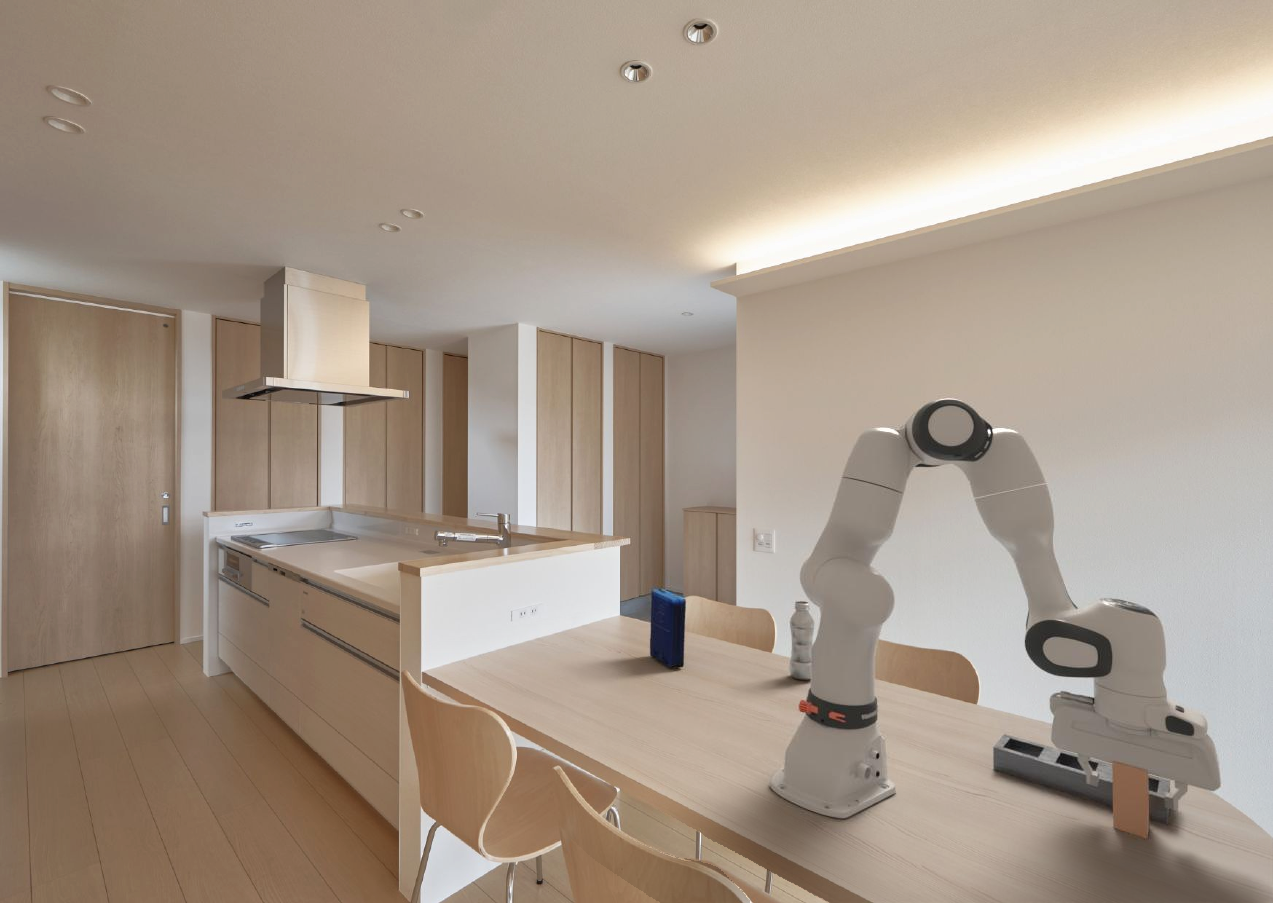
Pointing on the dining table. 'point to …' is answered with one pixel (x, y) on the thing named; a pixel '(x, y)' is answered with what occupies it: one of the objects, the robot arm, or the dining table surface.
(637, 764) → the dining table surface
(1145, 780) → the peg
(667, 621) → the blue upright rectangular block
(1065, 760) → the rail
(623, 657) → the dining table surface
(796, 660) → the plastic bottle
